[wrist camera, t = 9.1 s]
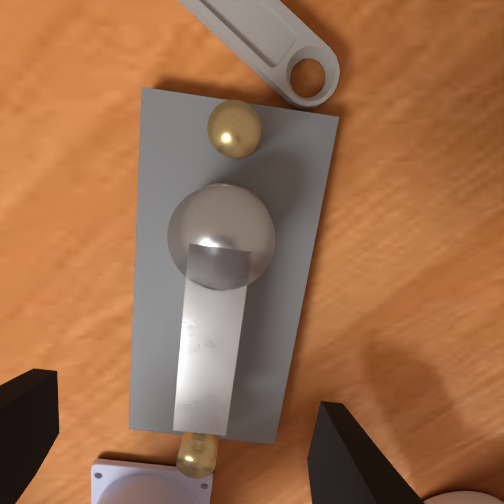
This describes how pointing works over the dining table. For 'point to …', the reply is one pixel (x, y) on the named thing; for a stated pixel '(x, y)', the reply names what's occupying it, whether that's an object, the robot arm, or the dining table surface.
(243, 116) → the peg pair
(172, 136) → the board
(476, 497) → the fruit juice
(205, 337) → the ball topped lever
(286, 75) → the adjustable wrench
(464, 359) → the dining table surface
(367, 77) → the dining table surface
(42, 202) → the dining table surface
